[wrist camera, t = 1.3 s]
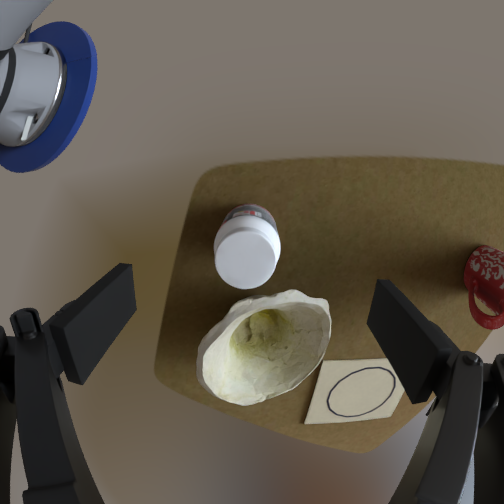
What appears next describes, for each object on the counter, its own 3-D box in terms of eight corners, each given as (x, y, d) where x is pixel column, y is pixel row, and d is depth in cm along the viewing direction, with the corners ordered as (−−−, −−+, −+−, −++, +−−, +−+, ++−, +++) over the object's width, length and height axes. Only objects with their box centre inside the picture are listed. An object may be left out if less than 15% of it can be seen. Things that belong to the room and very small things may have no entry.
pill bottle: (220, 205, 30) (203, 225, 21) (273, 200, 30) (281, 219, 21) (225, 256, 32) (213, 297, 23) (277, 252, 32) (285, 292, 22)
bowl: (302, 373, 37) (312, 428, 28) (201, 354, 36) (187, 409, 27) (342, 277, 33) (371, 321, 23) (223, 249, 32) (209, 288, 22)
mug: (499, 231, 30) (562, 262, 17) (496, 286, 33) (549, 325, 20) (439, 252, 31) (506, 297, 19) (438, 311, 34) (490, 366, 21)
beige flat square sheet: (322, 359, 36) (322, 361, 36) (419, 355, 36) (420, 356, 36) (304, 422, 41) (304, 424, 40) (390, 415, 41) (390, 416, 40)
